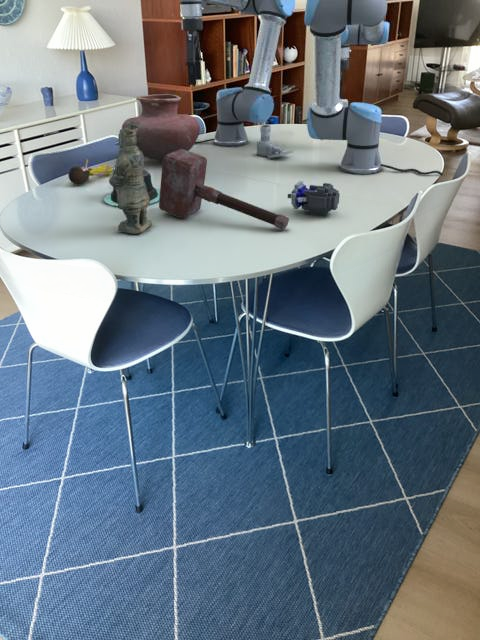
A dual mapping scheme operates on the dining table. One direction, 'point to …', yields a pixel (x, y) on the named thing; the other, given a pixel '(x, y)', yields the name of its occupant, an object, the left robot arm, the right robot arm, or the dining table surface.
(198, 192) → the sledgehammer
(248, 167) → the dining table surface
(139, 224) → the statue
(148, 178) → the dark dome on dish
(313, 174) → the dining table surface
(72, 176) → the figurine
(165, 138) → the clay pot
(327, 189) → the toy
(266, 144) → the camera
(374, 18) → the right robot arm
